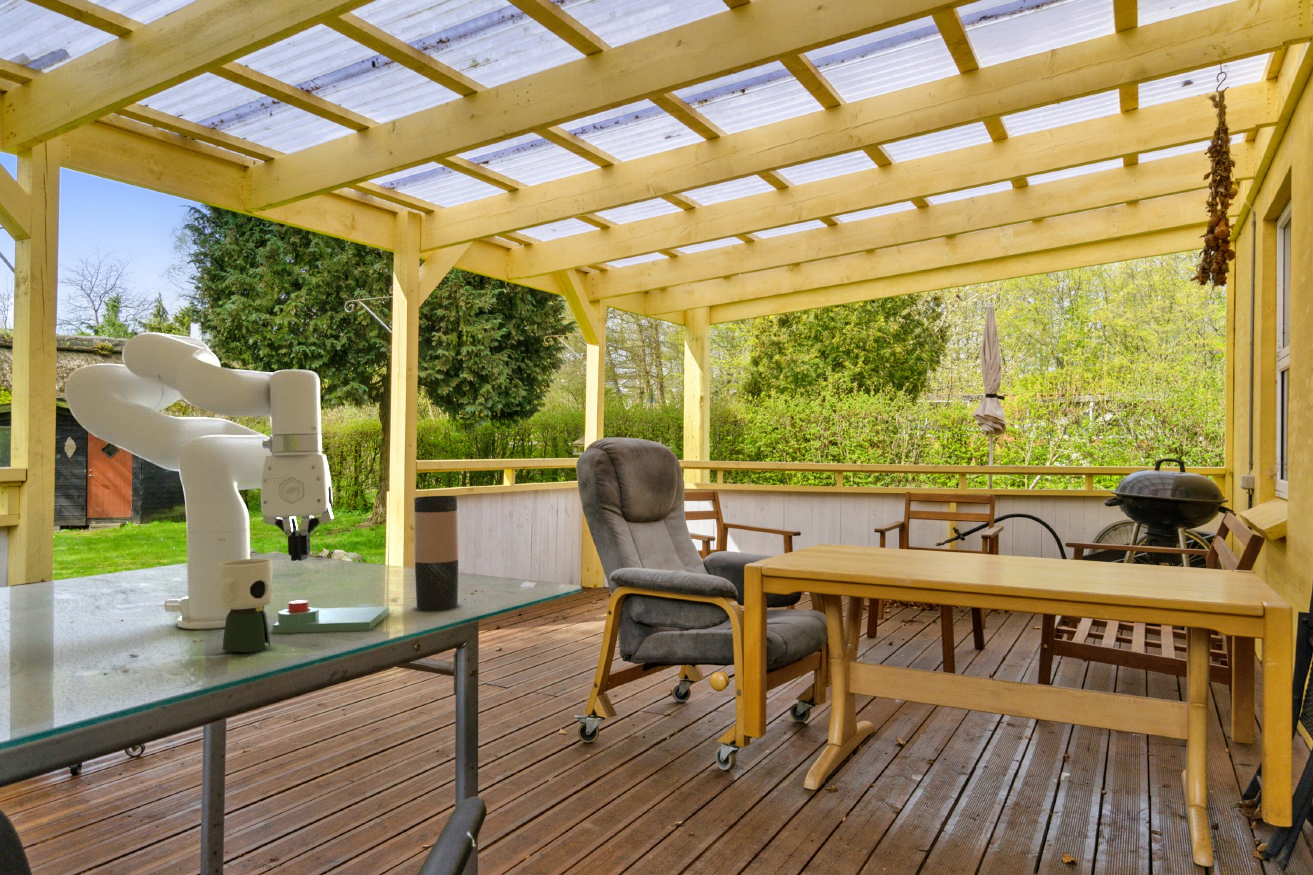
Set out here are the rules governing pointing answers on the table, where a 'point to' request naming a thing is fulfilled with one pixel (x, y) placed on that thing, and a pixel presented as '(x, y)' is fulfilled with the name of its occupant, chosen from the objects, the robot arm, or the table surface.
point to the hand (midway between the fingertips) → (299, 559)
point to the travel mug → (436, 552)
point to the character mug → (245, 603)
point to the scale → (330, 619)
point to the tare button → (298, 606)
